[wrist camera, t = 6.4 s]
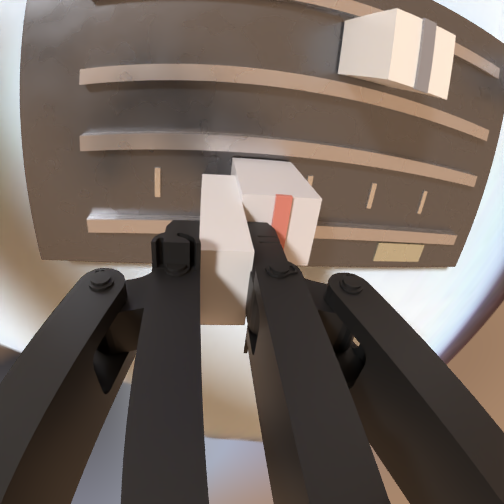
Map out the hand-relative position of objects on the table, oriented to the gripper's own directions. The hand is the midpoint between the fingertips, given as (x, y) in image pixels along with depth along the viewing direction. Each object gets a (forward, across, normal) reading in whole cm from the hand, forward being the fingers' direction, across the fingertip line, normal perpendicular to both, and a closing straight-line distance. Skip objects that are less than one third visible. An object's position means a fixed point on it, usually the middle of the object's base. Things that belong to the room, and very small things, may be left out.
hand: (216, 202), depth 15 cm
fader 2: (+2, +7, +8) cm, 11 cm away
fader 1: (+2, +2, 0) cm, 3 cm away
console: (+4, +4, +4) cm, 7 cm away
